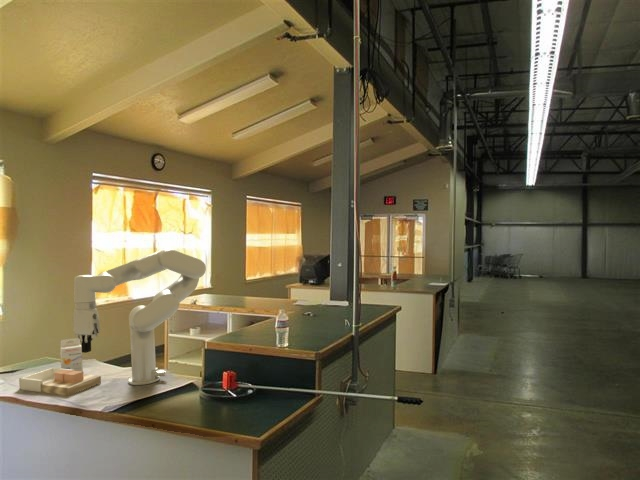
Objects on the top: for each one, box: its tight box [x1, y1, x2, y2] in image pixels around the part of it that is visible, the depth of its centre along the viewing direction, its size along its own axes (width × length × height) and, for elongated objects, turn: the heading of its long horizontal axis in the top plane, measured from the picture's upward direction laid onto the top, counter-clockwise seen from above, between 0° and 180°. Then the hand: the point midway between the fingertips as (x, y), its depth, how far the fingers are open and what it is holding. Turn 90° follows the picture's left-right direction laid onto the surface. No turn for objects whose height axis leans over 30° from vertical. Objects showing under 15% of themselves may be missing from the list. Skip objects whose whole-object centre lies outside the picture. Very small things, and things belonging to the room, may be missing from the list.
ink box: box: [59, 337, 84, 372], centre depth 223 cm, size 8×5×15 cm, turn 123°
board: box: [40, 373, 102, 397], centre depth 201 cm, size 15×16×3 cm
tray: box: [18, 367, 74, 393], centre depth 206 cm, size 12×16×4 cm
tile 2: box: [64, 370, 84, 383], centre depth 200 cm, size 5×5×3 cm
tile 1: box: [54, 369, 73, 382], centre depth 202 cm, size 5×5×3 cm
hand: (86, 351), depth 197 cm, fingers closed
